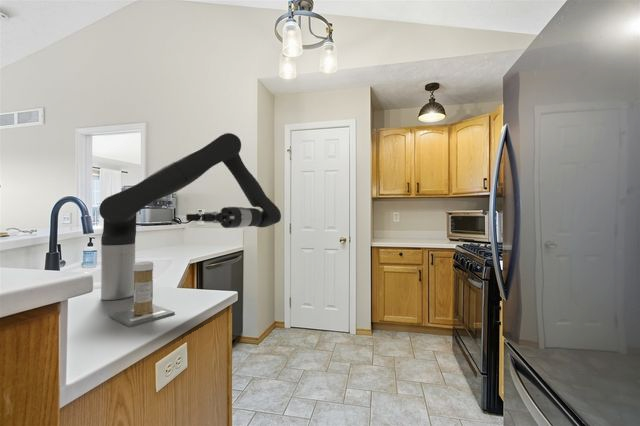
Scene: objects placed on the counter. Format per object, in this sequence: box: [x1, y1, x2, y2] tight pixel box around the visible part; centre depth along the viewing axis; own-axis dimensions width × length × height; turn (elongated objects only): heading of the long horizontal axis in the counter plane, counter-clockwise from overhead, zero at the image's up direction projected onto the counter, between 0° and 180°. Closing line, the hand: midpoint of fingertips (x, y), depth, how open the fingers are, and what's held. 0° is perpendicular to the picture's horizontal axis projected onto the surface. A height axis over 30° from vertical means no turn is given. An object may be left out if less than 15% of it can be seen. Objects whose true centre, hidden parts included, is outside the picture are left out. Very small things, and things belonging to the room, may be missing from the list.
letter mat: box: [108, 303, 175, 328], centre depth 77 cm, size 12×11×1 cm
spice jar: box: [133, 261, 154, 315], centre depth 78 cm, size 5×5×14 cm
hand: (194, 217), depth 92 cm, fingers open, 8 cm apart
